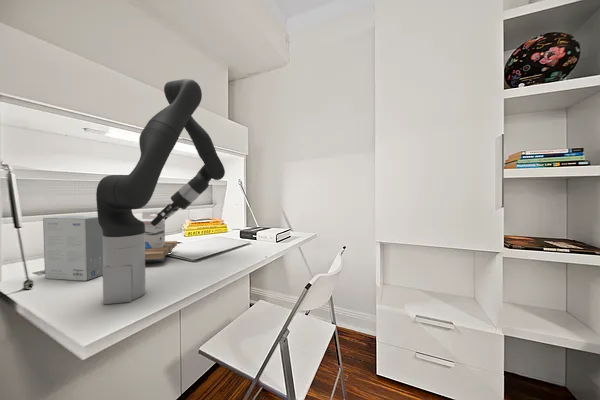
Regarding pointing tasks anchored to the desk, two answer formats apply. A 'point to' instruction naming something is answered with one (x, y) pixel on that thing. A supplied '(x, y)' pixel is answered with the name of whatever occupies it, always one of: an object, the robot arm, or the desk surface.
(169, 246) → the slab
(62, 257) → the hard drive box
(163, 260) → the rollers
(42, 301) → the desk surface
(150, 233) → the ink box
